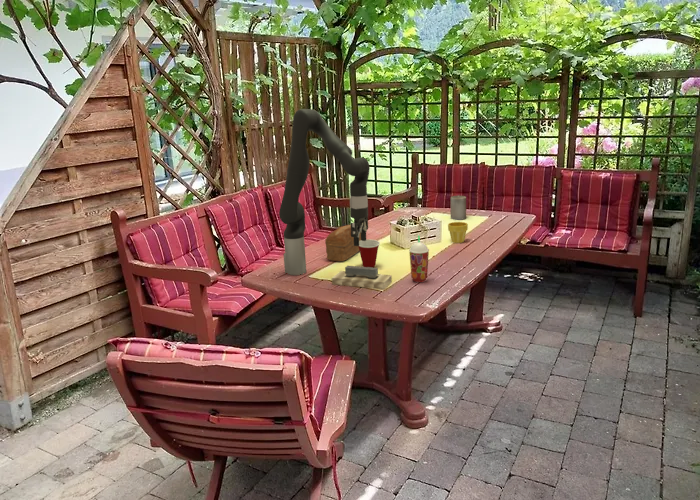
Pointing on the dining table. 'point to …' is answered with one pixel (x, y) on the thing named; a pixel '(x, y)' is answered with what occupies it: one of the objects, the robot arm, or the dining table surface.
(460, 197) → the pillar candle
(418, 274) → the smoothie
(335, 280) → the ice cube tray
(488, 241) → the dining table surface
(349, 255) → the bread
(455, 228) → the plant pot
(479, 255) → the dining table surface
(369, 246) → the plastic cup
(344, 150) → the robot arm
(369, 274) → the grey bridge block
